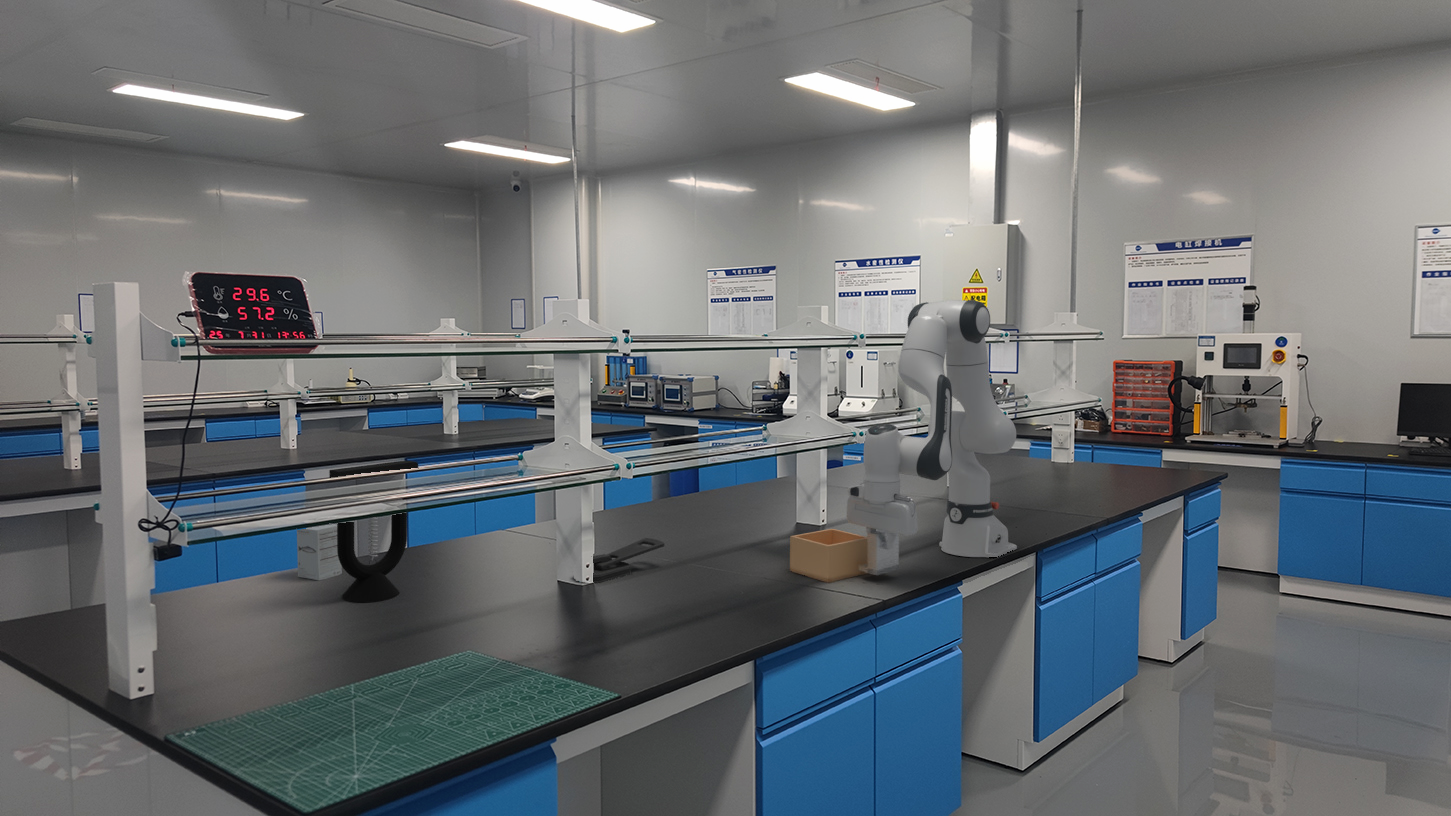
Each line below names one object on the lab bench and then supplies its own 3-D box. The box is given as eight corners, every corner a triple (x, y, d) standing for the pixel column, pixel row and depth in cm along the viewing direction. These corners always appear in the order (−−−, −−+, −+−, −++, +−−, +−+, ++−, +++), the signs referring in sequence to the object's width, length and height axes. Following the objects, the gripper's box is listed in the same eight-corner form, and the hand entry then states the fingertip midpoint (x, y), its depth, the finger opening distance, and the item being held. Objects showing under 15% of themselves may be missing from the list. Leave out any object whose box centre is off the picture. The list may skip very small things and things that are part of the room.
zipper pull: (668, 542, 231) (588, 558, 214) (668, 567, 232) (589, 585, 214) (646, 536, 238) (567, 552, 220) (646, 561, 238) (567, 578, 221)
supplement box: (296, 577, 220) (295, 526, 219) (322, 570, 227) (320, 521, 226) (318, 581, 217) (316, 529, 216) (343, 574, 224) (341, 524, 223)
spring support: (352, 609, 195) (348, 472, 192) (318, 600, 201) (314, 467, 199) (430, 587, 212) (427, 461, 210) (396, 579, 219) (393, 457, 216)
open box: (831, 562, 238) (832, 528, 237) (870, 572, 227) (870, 537, 226) (789, 571, 228) (790, 536, 228) (827, 582, 218) (828, 546, 217)
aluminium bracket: (876, 575, 217) (876, 534, 216) (858, 570, 222) (858, 530, 221) (898, 569, 222) (898, 529, 221) (880, 564, 227) (880, 525, 226)
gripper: (923, 496, 212) (923, 553, 214) (859, 484, 228) (859, 537, 230) (906, 499, 208) (905, 557, 210) (842, 487, 224) (842, 541, 226)
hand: (881, 547), depth 220 cm, fingers closed on aluminium bracket, 3 cm apart
